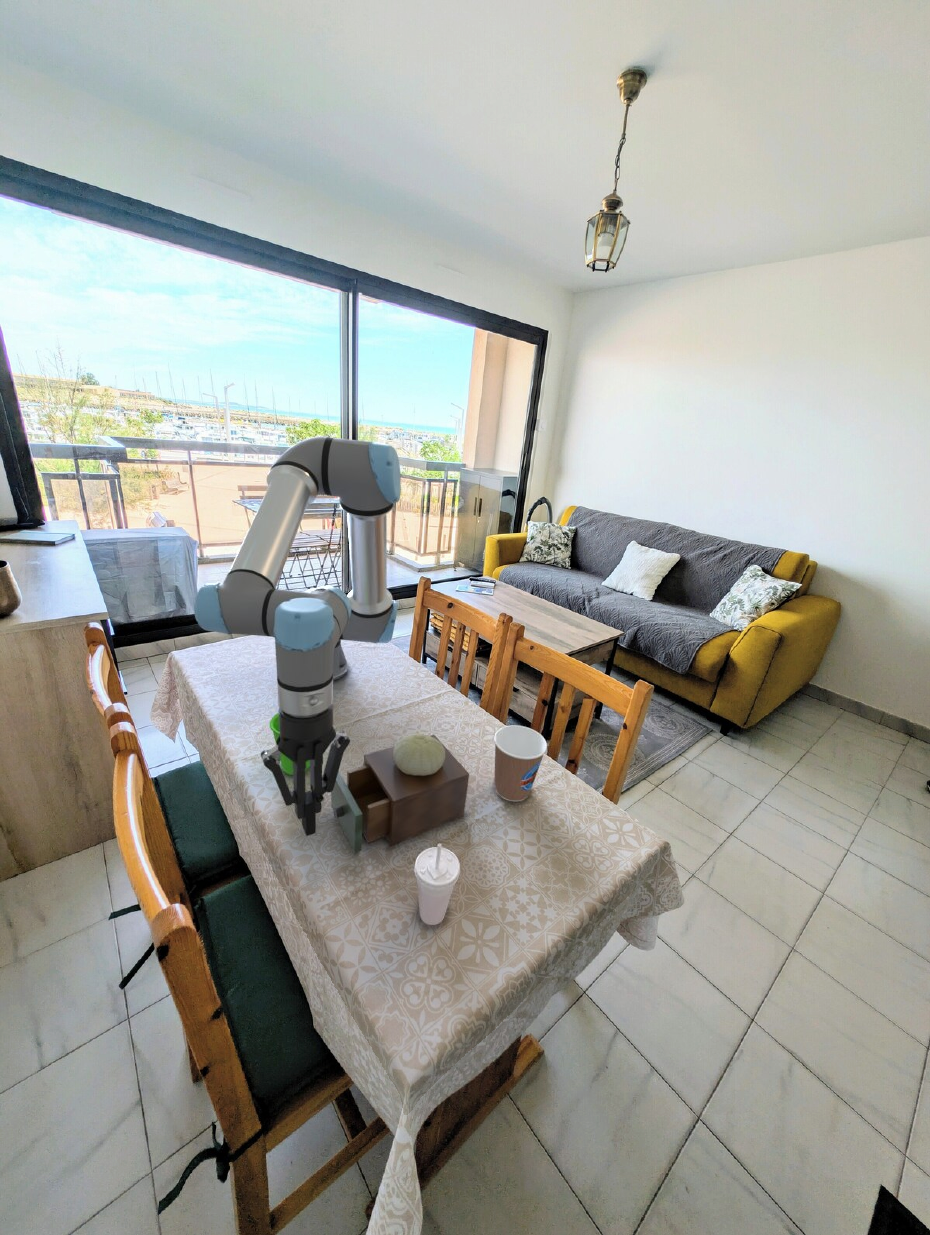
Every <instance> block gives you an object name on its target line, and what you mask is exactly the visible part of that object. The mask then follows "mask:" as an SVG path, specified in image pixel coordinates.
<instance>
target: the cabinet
mask: <svg viewBox="0 0 930 1235" xmlns="http://www.w3.org/2000/svg"><path fill="white" fill-rule="evenodd" d="M429 736H431V737H433V738H436V739H437V740H438V741H439V742H441V740H440V739H439V738H438V737H437V736H436V735H435V734H431V735H430V734H429ZM442 745H443V746H444V748H445V760H444V763H443V765H442V767H441V768H440V769H439V770H438V771H437V772H435V773H433V774H431V775H424V776H421V775H415V776H414V775H410V774H406V773H404V772H402V771H401V770H400V769H399V768H398V767H397V765H396V763H395V760H394V758H393V751H394V746H395V745H393V746H389V747H386V748H383V749H379V750H376V751H373V752H369V753H365V754H363V764H362V766H365V765H368V766H369V768H370V769H371V771H372V773H373V774H374V776H375V777H376V779H377V780H378V782H379V783H380V785H381V787H382V788H383V790H384V791H385V793H386V794H387V796H388V797H389V799H390V801H391V814H390V830H389V834H388V835H385V836H384V837H385V839H386V841H387V842H388V844H389V845H390V846H389V847H393V846H395V845H398V844H399V843H402V842H405V841H407V840H408V839H412V838H415V837H416V836H419V835H421V834H424V833H426V832H429V831H431V830H432V829H436V828H438V827H441V826H442V825H445V824H447V823H450V822H452V821H455V820H458V819H459V818H462V817H464V816H465V809H466V808H465V807H466V802H467V795H468V794H467V793H468V788H469V780H470V773H469V772H468V771H467V769H466V768H465V767H464V766H463V764H461V763H460V762H459V760H458V759H457V758H456V757H455V756H454V755H453V753H451V752H450V751H449V749H448V748H447V747H446V746H445V745H444V743H442Z"/></svg>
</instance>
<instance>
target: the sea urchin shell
mask: <svg viewBox="0 0 930 1235" xmlns="http://www.w3.org/2000/svg"><path fill="white" fill-rule="evenodd" d="M442 744H443V742H442V741H440V742H439V741H438V740H437V739H436V738H433V737H431V736H430V734H425V733H423V732H418V733H417V732H416V733H412V734H409V735H405V736H404V737H402V738H401V739H399V740H398V741H397V742H395V745H393V746H394V751H393V758H394V760H395V763H396V765H397V767H398V768H399V769H400V770H401V771H402V772H404V773H406V774H410V775H414V776H415V775H421V776H424V775H431V774H433V773H435V772H437V771H438V770H439V769H440V768H441V767H442V765H443V763H444V760H445V748H444V746H445V745H444V744H443V745H444V746H443V745H442Z"/></svg>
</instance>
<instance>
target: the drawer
mask: <svg viewBox="0 0 930 1235" xmlns="http://www.w3.org/2000/svg"><path fill="white" fill-rule="evenodd" d="M330 796H331V797H330V806H331V809H332V811H333V814H334V818H336V820H337V821H338V824H339V826H340V827H341V830H342V832H343V834H344V835H345V838H346V840H347V841H348V844H349V846H350V848H351V850H352V852H353V854H357V853H358V854H359V853H360V852H362V844H363V843H362V842H363V841H362V840H363V836H364V838H365V840H366V842H367V843H370V842H372V841H375V840H377V839H380V838H383V837H385V835H388V834H389V830H390V814H391V801H390V799H389V797H388V796H387V794H386V793H385V791H384V790H383V788H382V787H381V785H380V783H379V782H378V780H377V779H376V777H375V776H374V774H373V773H372V771H371V769H370V768H369V766H368V765H365V766H363V765H361V766H359V767H358V766H357V767H355V768H352V769H348V770H347V771H346V782H345V780H344V778H343V776H342V774H341V773H340V770H339V771H338V775H337V778H336V782H335V785H334V789H333V791H332V792H330Z"/></svg>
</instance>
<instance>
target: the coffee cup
mask: <svg viewBox="0 0 930 1235" xmlns="http://www.w3.org/2000/svg"><path fill="white" fill-rule="evenodd" d="M493 740H494V780H493V782H494V789H495V791H496V794H497V795H498V796H499V797H500V798H502V799H503V800H506V801H509V802H514V803H515V802H522V801H524V800H525V799H527V798H528V797H529V794H530V792H531V791H532V789H533V788H532V787H533V786H534V783H535V780H536V777H537V775H538V771H539V769H540V766H541V764H542V761H543V757H544V754H546V753H547V751H548V750H547V749H548V743H547V740H546V739H545V738H544V736H543V735H542V734H541V733H540V732H538V731H537V730H535V729H532V728H530V727H527V726H523V725H517V724H515V725H513V724H512V725H506V726H503V727H501V728H499V729H497V731H496V732H495V733H494V736H493Z"/></svg>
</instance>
